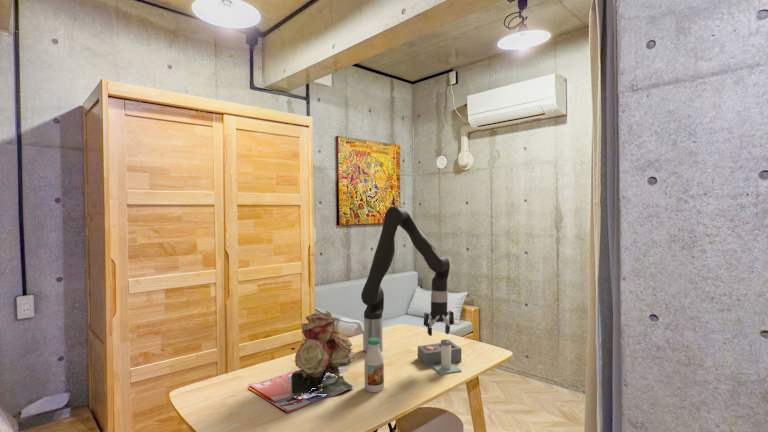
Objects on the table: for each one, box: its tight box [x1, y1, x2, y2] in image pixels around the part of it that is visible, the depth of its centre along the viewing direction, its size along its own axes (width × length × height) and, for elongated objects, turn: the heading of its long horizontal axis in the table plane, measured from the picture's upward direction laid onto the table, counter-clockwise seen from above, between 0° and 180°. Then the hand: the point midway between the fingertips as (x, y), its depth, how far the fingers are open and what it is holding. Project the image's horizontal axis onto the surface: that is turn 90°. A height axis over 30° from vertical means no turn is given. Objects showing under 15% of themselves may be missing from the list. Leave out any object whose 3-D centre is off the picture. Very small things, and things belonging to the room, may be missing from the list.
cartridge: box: [440, 339, 452, 370], centre depth 179 cm, size 5×5×12 cm
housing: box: [417, 341, 462, 367], centre depth 190 cm, size 18×10×6 cm, turn 109°
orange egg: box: [425, 346, 434, 351], centre depth 188 cm, size 4×4×6 cm
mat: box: [431, 362, 462, 376], centre depth 179 cm, size 10×9×1 cm
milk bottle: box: [364, 338, 385, 393], centre depth 160 cm, size 8×8×20 cm
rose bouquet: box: [289, 310, 355, 399], centre depth 164 cm, size 26×29×30 cm
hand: (438, 334), depth 185 cm, fingers open, 8 cm apart
